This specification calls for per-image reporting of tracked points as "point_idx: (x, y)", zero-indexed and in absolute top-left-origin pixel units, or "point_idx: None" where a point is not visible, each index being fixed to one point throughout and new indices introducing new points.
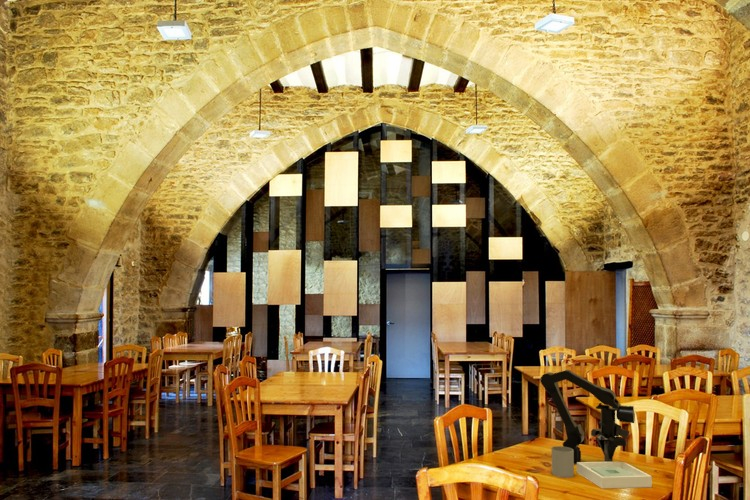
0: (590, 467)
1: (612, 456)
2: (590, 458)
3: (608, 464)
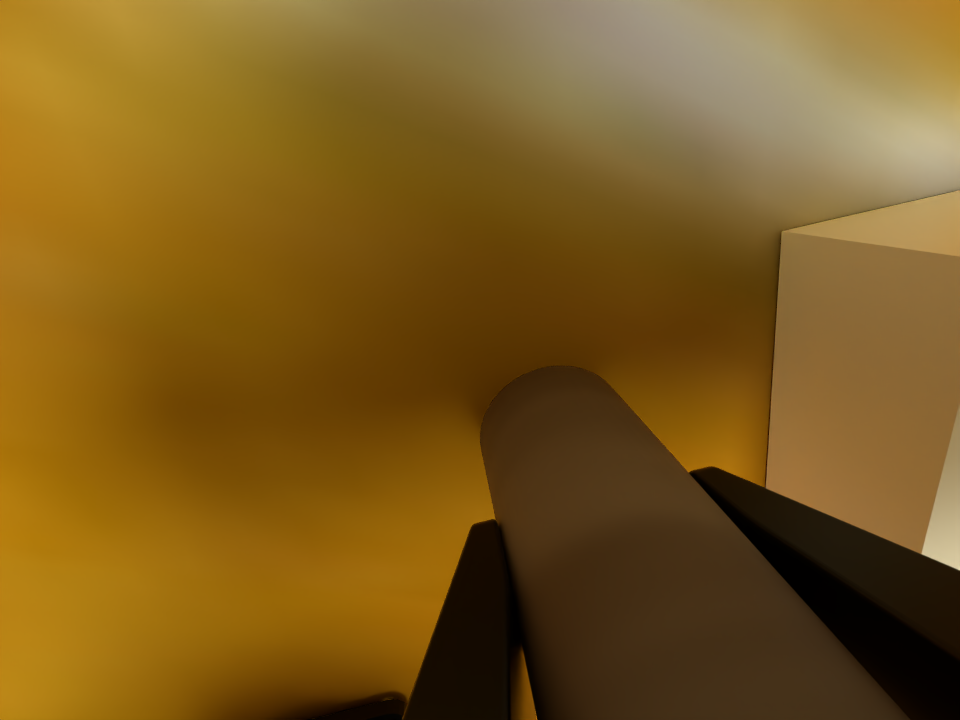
0: None
1: (787, 511)
2: (11, 570)
3: None
